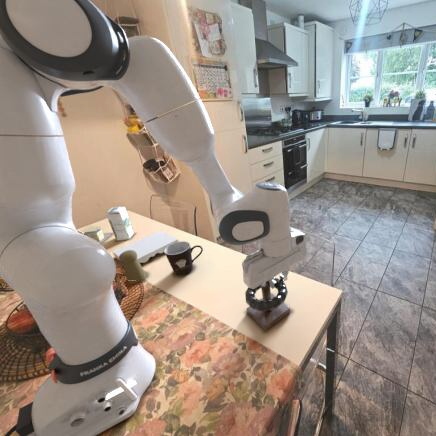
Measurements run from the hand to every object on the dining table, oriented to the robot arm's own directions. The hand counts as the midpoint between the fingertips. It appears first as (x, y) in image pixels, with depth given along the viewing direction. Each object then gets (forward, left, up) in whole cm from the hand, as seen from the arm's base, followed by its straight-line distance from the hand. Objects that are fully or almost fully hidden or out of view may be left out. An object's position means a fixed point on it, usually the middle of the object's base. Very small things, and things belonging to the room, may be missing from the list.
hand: (278, 283), depth 70 cm
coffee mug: (-13, +37, -8) cm, 40 cm away
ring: (-4, 0, -1) cm, 5 cm away
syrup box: (-24, +84, -8) cm, 88 cm away
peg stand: (-4, 0, -8) cm, 9 cm away
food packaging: (-20, +62, -8) cm, 66 cm away
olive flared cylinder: (-28, +46, -8) cm, 55 cm away
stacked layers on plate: (-35, +93, -8) cm, 99 cm away
